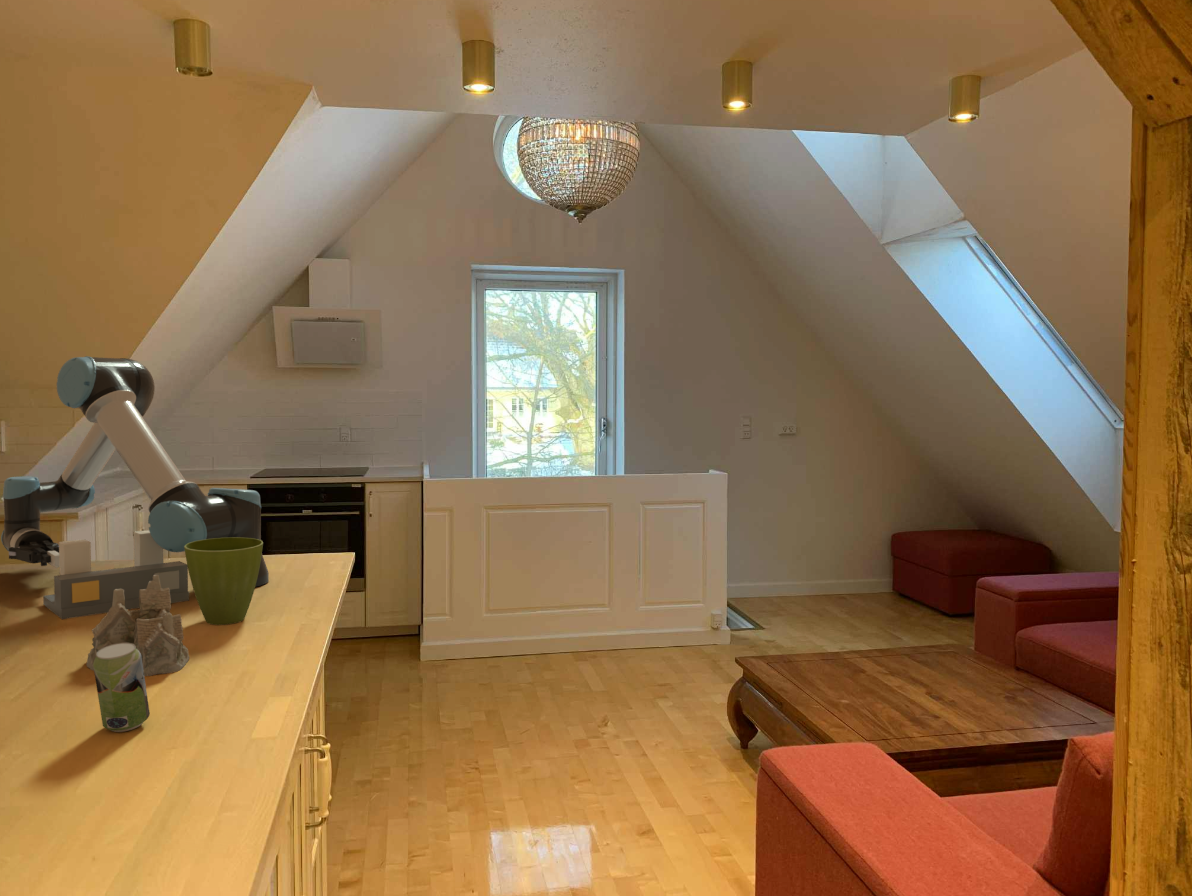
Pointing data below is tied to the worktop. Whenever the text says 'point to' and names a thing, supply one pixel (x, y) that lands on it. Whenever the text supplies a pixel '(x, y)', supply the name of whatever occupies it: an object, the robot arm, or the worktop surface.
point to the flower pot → (224, 576)
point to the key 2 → (146, 549)
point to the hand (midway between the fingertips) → (58, 561)
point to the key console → (113, 588)
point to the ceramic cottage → (144, 630)
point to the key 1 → (74, 557)
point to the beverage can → (121, 687)
